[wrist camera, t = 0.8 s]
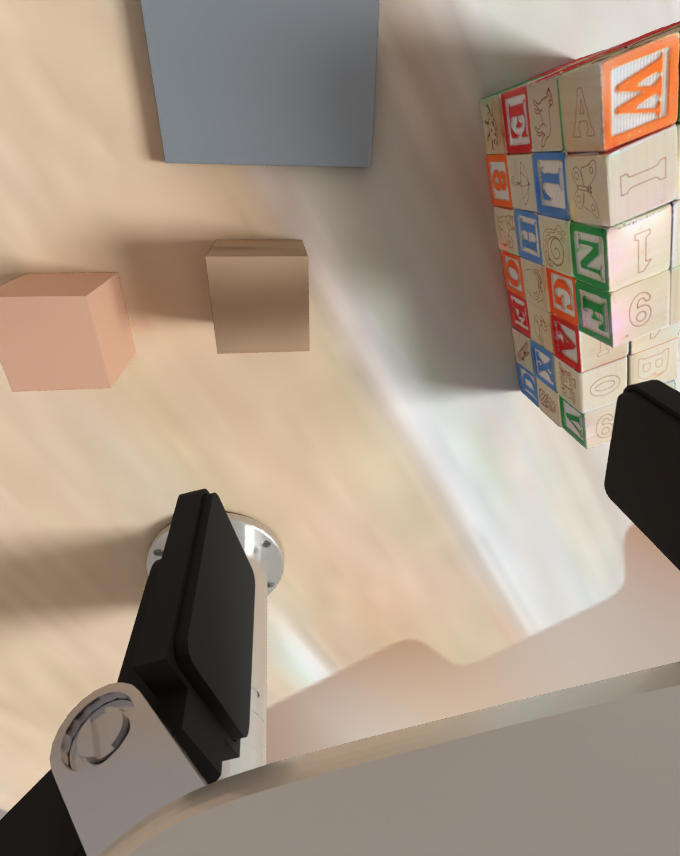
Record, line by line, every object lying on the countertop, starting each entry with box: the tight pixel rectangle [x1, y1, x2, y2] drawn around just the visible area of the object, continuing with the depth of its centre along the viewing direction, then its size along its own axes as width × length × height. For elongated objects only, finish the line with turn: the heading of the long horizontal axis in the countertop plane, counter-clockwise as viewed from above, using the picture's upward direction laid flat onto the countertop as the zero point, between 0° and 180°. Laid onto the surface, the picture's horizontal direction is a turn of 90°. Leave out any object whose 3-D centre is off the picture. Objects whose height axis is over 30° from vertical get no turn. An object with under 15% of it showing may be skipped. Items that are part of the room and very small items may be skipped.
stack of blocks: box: [480, 21, 680, 449], centre depth 27 cm, size 21×6×12 cm, turn 19°
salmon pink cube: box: [0, 273, 136, 392], centre depth 28 cm, size 6×6×6 cm
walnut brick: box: [205, 240, 309, 354], centre depth 28 cm, size 6×6×6 cm
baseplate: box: [141, 0, 379, 167], centre depth 24 cm, size 12×12×1 cm
